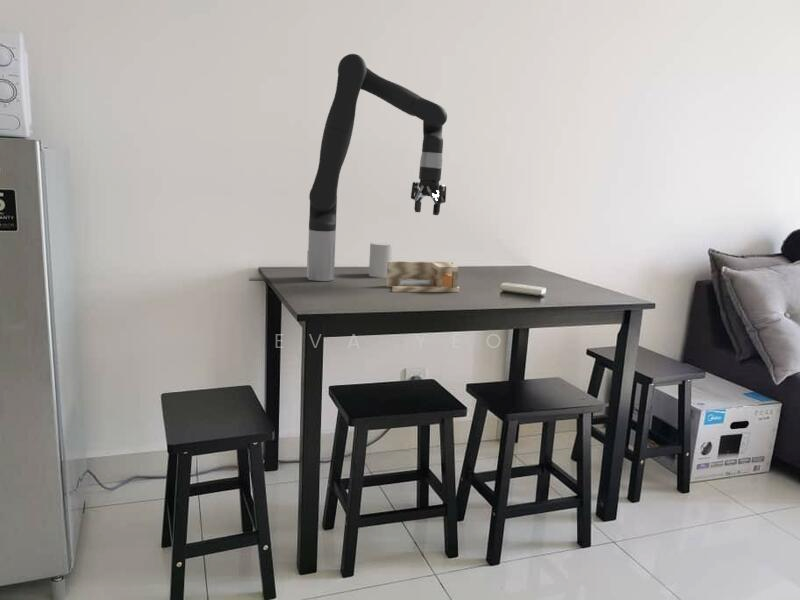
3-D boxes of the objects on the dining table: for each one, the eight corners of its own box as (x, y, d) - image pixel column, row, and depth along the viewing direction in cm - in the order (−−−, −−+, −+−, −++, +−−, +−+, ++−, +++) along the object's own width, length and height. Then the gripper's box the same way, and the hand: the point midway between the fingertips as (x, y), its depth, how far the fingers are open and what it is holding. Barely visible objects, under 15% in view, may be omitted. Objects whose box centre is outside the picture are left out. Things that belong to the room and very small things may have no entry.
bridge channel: (393, 291, 205) (394, 266, 204) (386, 285, 215) (387, 261, 213) (459, 291, 211) (461, 267, 210) (449, 286, 221) (451, 262, 219)
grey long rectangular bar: (400, 290, 209) (400, 280, 208) (397, 288, 212) (397, 278, 211) (433, 290, 213) (434, 280, 212) (430, 288, 216) (431, 278, 215)
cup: (391, 274, 237) (393, 242, 234) (389, 278, 229) (391, 245, 226) (370, 272, 238) (372, 241, 235) (367, 276, 230) (368, 244, 227)
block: (437, 290, 212) (438, 276, 211) (432, 287, 217) (433, 273, 216) (451, 290, 213) (452, 276, 212) (446, 287, 218) (447, 273, 217)
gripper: (408, 164, 218) (404, 211, 222) (439, 167, 209) (434, 216, 212) (423, 165, 223) (419, 211, 227) (453, 168, 214) (449, 216, 217)
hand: (426, 213), depth 219 cm, fingers open, 8 cm apart
